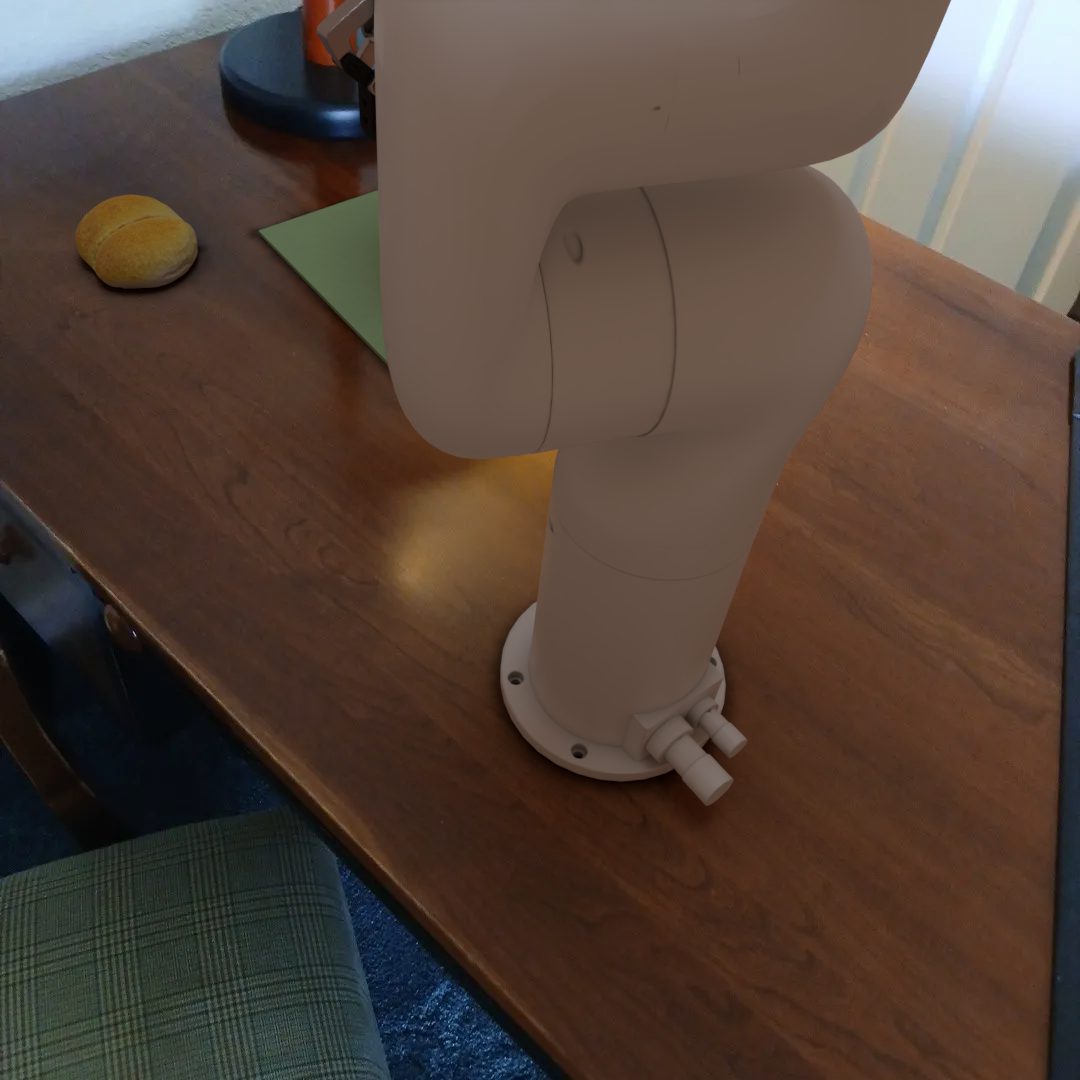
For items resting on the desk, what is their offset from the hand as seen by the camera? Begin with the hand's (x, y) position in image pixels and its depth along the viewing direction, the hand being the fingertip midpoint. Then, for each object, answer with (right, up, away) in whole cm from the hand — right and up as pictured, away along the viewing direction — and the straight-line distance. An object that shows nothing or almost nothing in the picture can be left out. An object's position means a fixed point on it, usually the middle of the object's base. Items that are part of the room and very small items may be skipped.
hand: (437, 123), depth 74 cm
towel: (-1, -8, +8) cm, 11 cm away
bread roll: (-23, -8, +6) cm, 25 cm away
